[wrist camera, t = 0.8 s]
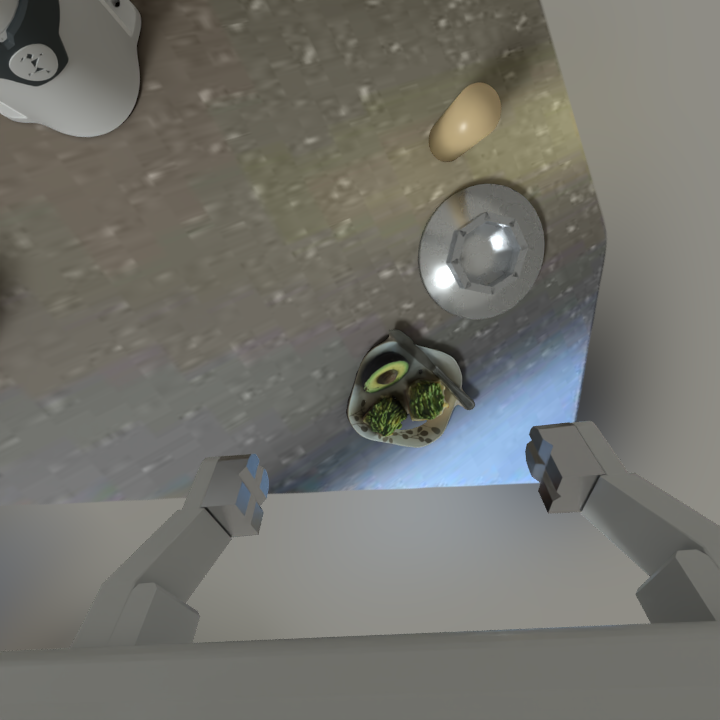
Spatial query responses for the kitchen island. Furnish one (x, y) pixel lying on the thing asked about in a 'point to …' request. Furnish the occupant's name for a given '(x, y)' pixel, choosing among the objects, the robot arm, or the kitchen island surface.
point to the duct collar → (481, 251)
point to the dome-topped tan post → (465, 122)
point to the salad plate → (405, 392)
